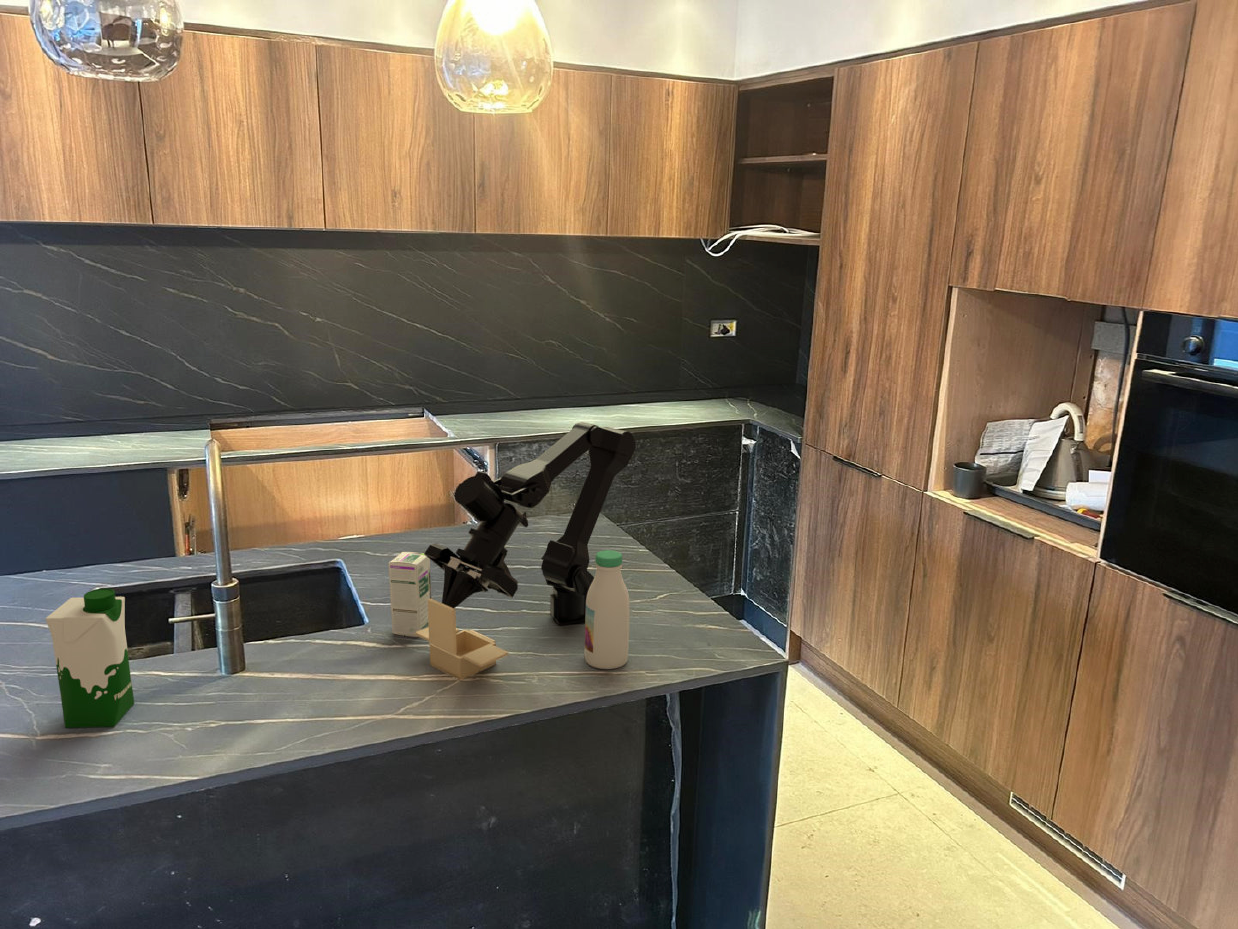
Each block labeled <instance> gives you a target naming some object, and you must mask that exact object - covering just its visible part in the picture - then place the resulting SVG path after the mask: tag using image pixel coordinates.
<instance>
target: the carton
mask: <svg viewBox="0 0 1238 929" xmlns="http://www.w3.org/2000/svg"><path fill="white" fill-rule="evenodd" d="M415 635H417V636H419V637H418V638H420V639H423V640H425V641H427V642H429V627H427V628H425V629H422V630H420V631H417V632H415ZM456 651H457V654H454V655H452V654H450V653H448V652H446V651H444V650H442V649H440V648H438V647H436V646H434V645H432V644H430V643H429V665H430V666H431V665H432V666H431V667H433V668H435V669H437V670H439V671H440V672H443V673H445V674H447V675H448V676H450V677H452V676H453V678H454V677H455V679H456V678H457V679H456V680H459V681H462V679H463V680H464V678H465V679H466V677H467V678H469V677H471V676H473V675H475V673H476V674H478V673H480V672H482V671H484V670H486V669H489V668H490V667H493V666H495V665H497V661H498V660H500V659H503V658H505V657H507V656H509V651H507V650H505V649H502V648H501V647H498V646H497V643H496V640H495V639H493V638H491V637H488V636H486V635H484V634H481V633H480V632H477V631H475V630H473V629H469V630H468V629H466V628H464V629H462V630H460V629H459V628H457V627H456ZM479 671H480V672H479ZM468 676H469V677H468Z"/></svg>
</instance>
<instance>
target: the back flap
mask: <svg viewBox="0 0 1238 929" xmlns="http://www.w3.org/2000/svg"><path fill="white" fill-rule="evenodd" d="M456 613H457V611H456V608H452V607H449V606H447V605H445V604H443V603H442V602H441V601H438V600H435V599H433V598H431V599H428V627H429V641H428V644H429V645H430V644H432V645H434V646H436V647H438V648H440V649H442V650H444V651H446V652H448V653H450V654H452V655H454V654H457V651H456V628H457V620H456V619H457V617H456V616H457V615H456Z"/></svg>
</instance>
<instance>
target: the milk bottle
mask: <svg viewBox="0 0 1238 929" xmlns="http://www.w3.org/2000/svg"><path fill="white" fill-rule="evenodd" d="M622 564H623V554H622V553H621V552H620V551H618V550H617V551H616V550H609V549H607V550H605V549H604V550H600V551H598V552H596V554H595V568H596V571H595V575H594V576H593V577H594V579H593V582H592V584H591V585H590V588H589V590H588V593H587V598H586V613H585V622H584V660H585V661H586V663H587V664H588V666H590V667H592V668H596V669H600V670H612V669H613V670H615V669H618V668H621V667H623V666H624V665H625V664H626V663H627V662H628V660H629V642H630V640H629V639H630V595H629V591H628V588H627V585H626V584H625V581H624V580H623V576H622V572H621V571H622V570H621V568H622V567H623V565H622Z"/></svg>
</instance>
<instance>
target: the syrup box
mask: <svg viewBox="0 0 1238 929" xmlns="http://www.w3.org/2000/svg"><path fill="white" fill-rule="evenodd" d="M424 553H425V552H424ZM424 553H423V552H415V551H414V552H413V551H401V553H400V554H398V555H397V556H395V557H394V558H393V559H392V560H390V561H389V562H388V564H387V565H388V580H389V595H390V614H391V627H392V628H391V629H392V630H391V631H392V632H391V633H392V634H393V635H398V636H404V635H405V636H404V637H415V638H420V637H419V636H417V635H415V632H417V631H420V630H422V629H425V628H427V627H428V599H432V583H431V560H430V559H429V558H428V557H427V556H425V555H424Z"/></svg>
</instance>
